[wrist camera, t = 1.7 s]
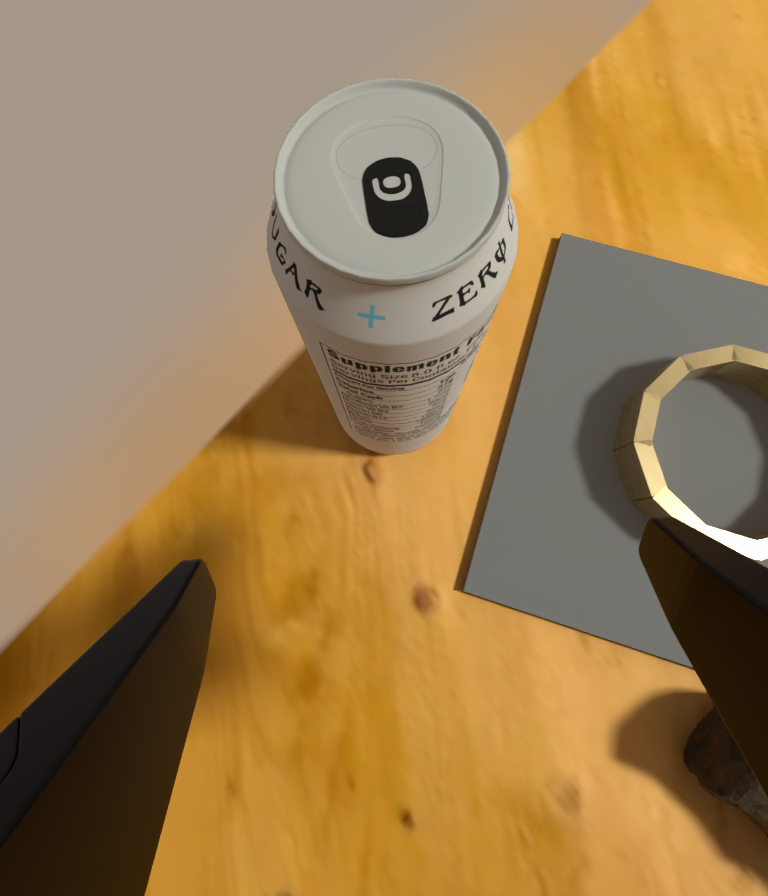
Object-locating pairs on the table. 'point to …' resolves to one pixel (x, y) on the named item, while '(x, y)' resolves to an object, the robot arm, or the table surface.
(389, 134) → the energy drink can
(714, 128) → the table surface
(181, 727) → the robot arm
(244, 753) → the table surface
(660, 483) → the wooden ring
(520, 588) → the rubber mat
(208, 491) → the table surface
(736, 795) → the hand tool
